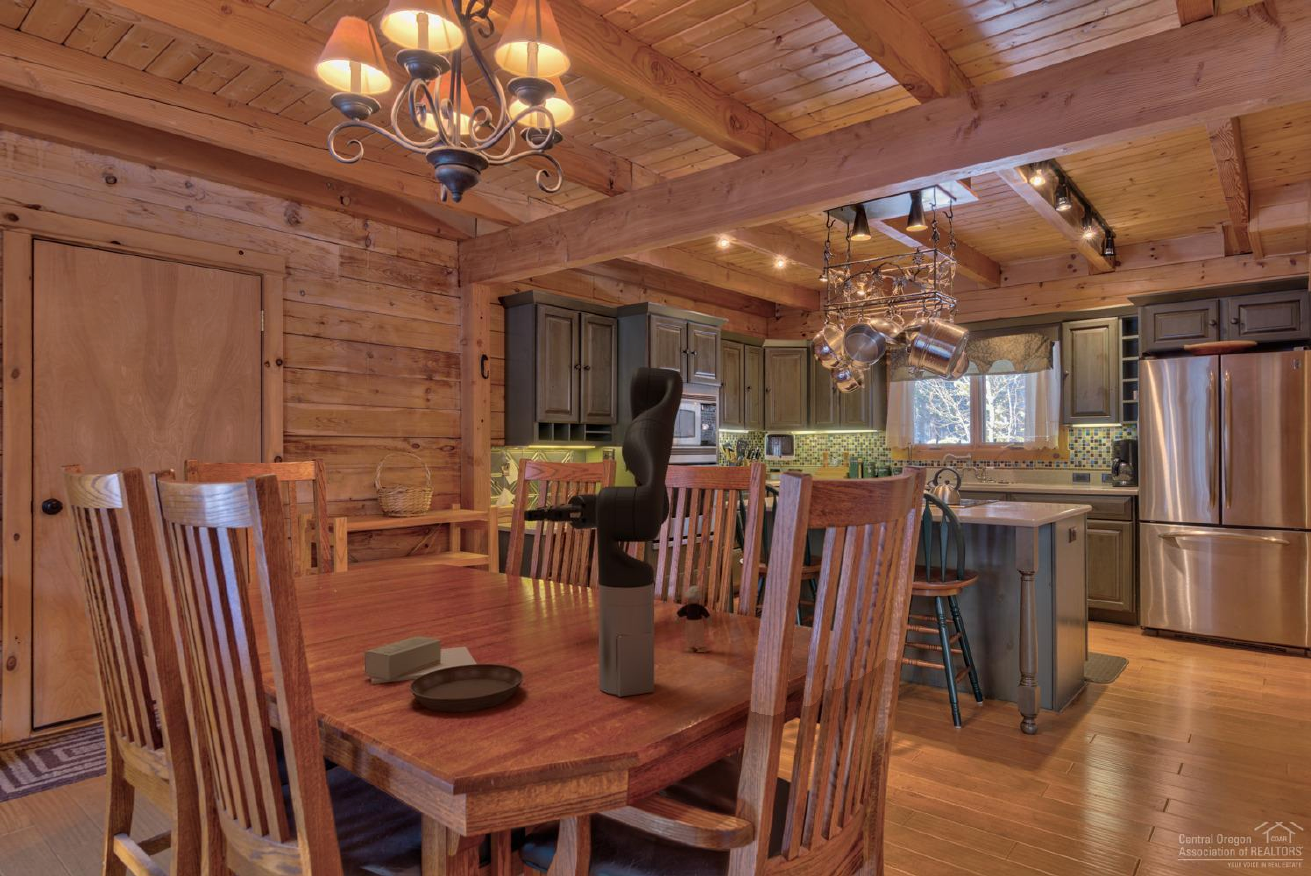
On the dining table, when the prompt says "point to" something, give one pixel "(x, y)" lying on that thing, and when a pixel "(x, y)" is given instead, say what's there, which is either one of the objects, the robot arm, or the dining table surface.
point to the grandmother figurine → (694, 620)
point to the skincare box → (402, 657)
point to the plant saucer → (466, 687)
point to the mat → (448, 659)
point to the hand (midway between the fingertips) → (526, 515)
